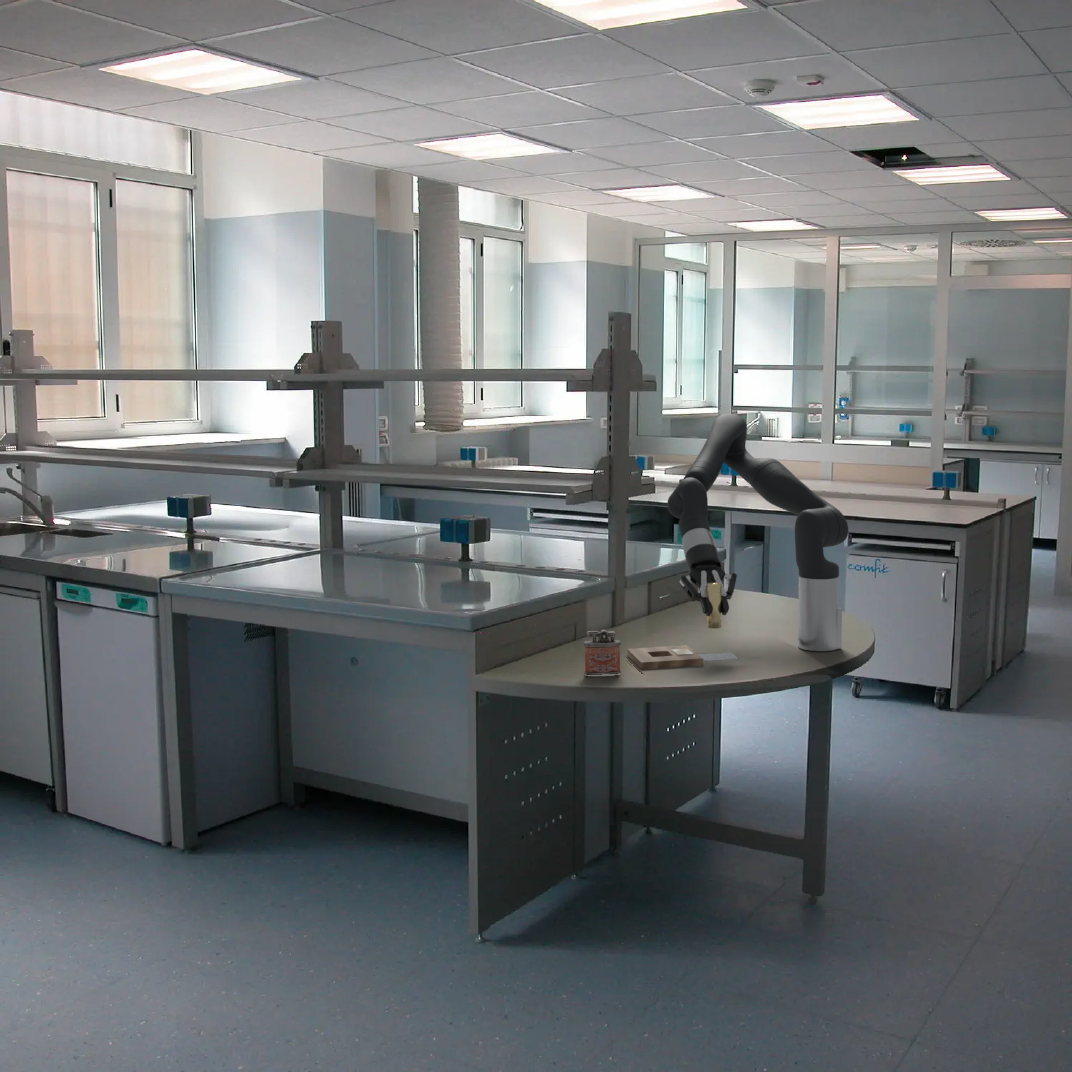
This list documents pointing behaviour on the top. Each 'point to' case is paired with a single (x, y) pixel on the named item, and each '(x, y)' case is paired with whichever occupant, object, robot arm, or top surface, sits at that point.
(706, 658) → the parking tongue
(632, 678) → the top surface
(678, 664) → the hole board
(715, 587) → the brass peg
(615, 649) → the lighter
